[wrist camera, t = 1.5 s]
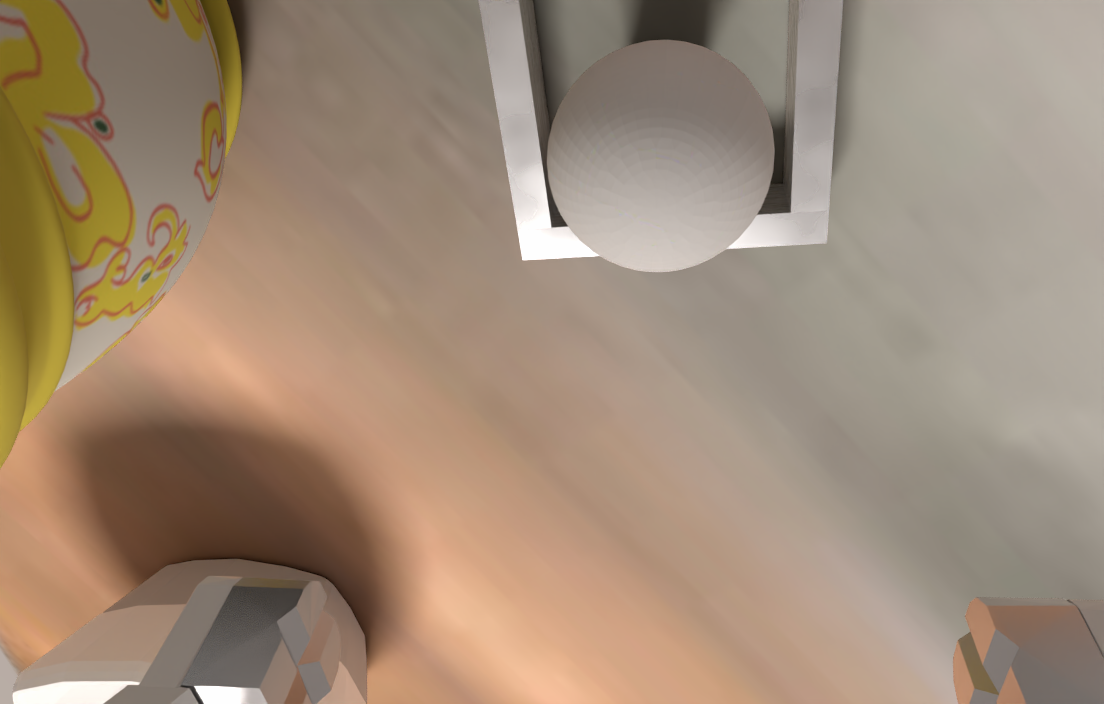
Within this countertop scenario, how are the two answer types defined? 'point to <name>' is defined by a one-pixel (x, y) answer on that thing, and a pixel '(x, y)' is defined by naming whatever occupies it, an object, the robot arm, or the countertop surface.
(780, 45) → the countertop surface
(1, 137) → the flowerpot
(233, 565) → the bowl
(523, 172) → the socket collar
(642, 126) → the light bulb
